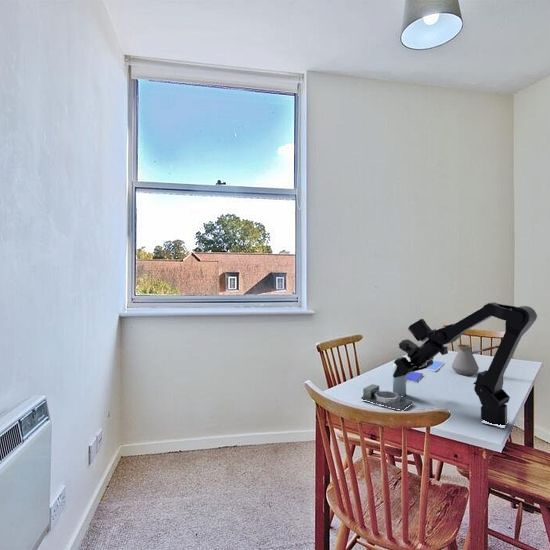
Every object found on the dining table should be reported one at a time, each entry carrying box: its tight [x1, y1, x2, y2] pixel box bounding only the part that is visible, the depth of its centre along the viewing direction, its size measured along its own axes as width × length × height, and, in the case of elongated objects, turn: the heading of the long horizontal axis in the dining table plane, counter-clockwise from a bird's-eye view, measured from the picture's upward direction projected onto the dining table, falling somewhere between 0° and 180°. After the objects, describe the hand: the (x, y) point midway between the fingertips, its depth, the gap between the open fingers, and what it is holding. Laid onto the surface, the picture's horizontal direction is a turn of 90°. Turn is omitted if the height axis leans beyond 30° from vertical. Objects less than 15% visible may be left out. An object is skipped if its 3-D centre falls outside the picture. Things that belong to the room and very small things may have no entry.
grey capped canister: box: [392, 362, 407, 396], centre depth 143 cm, size 5×5×13 cm
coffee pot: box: [451, 344, 499, 376], centre depth 168 cm, size 21×12×15 cm, turn 53°
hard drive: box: [406, 371, 424, 383], centre depth 165 cm, size 2×8×12 cm
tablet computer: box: [421, 360, 445, 373], centre depth 184 cm, size 19×13×1 cm, turn 144°
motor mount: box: [360, 383, 414, 411], centre depth 135 cm, size 16×9×4 cm, turn 46°
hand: (400, 374), depth 142 cm, fingers open, 9 cm apart
